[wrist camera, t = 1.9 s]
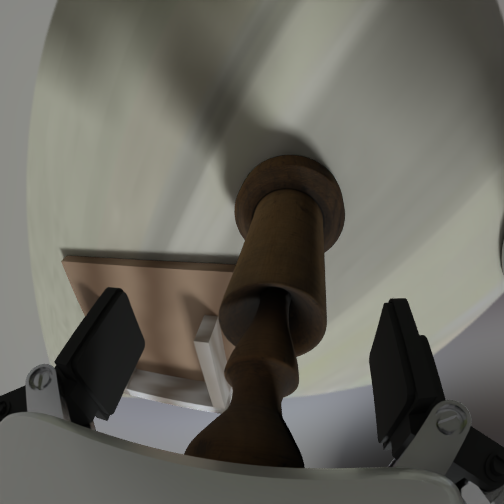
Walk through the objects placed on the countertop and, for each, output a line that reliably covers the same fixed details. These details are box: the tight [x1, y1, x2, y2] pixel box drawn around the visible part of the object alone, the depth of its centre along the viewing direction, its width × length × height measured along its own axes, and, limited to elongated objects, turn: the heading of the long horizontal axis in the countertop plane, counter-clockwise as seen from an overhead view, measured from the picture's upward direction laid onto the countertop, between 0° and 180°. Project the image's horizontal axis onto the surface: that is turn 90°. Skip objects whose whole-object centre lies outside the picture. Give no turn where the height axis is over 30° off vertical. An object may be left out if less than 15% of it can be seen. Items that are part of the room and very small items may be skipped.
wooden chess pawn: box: [184, 155, 345, 468], centre depth 13 cm, size 7×6×18 cm
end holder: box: [61, 256, 236, 414], centre depth 27 cm, size 18×16×4 cm
